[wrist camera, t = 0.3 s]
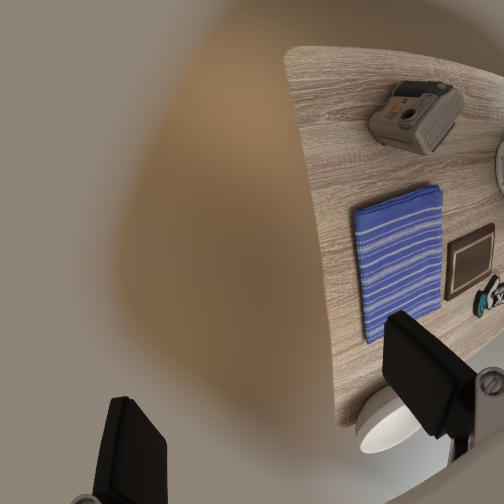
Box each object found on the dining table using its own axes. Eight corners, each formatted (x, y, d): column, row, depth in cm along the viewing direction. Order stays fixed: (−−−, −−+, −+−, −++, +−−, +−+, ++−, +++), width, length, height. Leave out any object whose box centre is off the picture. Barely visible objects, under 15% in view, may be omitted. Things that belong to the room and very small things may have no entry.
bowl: (358, 435, 57) (371, 460, 49) (333, 407, 50) (348, 439, 42) (421, 392, 56) (438, 415, 48) (410, 355, 49) (433, 381, 41)
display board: (447, 243, 43) (451, 245, 42) (491, 223, 44) (495, 224, 43) (444, 299, 47) (447, 302, 46) (487, 273, 48) (490, 275, 47)
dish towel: (433, 180, 38) (445, 183, 36) (435, 303, 47) (444, 310, 44) (346, 207, 37) (357, 211, 34) (363, 341, 45) (370, 350, 43)
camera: (404, 75, 31) (456, 77, 22) (421, 106, 34) (471, 115, 25) (358, 118, 33) (410, 127, 24) (379, 150, 36) (429, 167, 27)
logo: (525, 269, 51) (516, 301, 54) (522, 267, 52) (512, 299, 55) (485, 280, 47) (472, 320, 50) (480, 278, 48) (468, 317, 51)
